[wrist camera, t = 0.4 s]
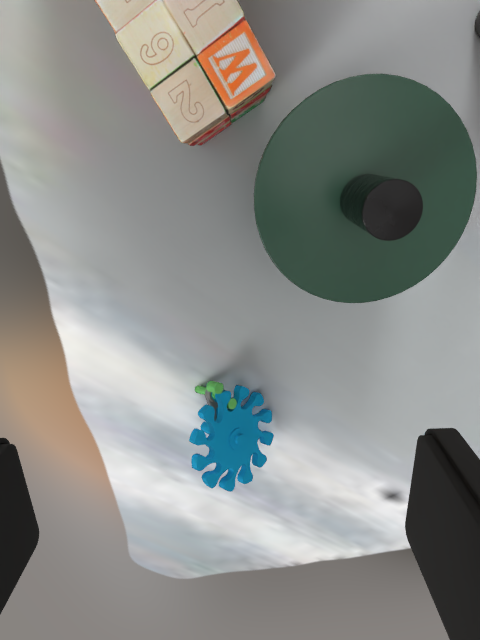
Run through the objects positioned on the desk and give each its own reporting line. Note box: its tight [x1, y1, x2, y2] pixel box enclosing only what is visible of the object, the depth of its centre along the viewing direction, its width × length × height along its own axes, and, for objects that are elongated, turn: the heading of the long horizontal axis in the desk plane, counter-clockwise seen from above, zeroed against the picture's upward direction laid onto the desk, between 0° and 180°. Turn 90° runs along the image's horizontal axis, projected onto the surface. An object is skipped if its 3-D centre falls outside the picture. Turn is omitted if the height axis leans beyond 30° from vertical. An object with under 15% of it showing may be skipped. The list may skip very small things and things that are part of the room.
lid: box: [254, 74, 477, 303], centre depth 23 cm, size 13×13×7 cm
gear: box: [189, 381, 274, 491], centre depth 42 cm, size 11×6×10 cm
